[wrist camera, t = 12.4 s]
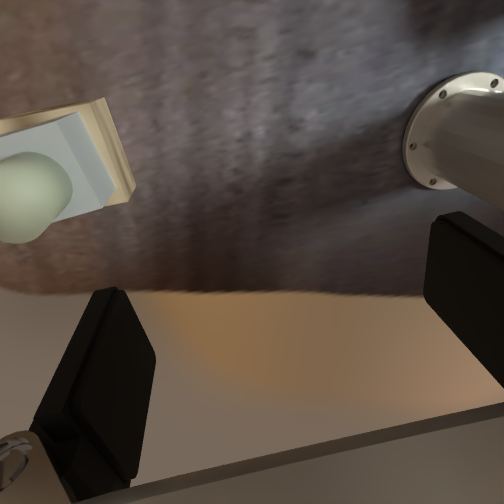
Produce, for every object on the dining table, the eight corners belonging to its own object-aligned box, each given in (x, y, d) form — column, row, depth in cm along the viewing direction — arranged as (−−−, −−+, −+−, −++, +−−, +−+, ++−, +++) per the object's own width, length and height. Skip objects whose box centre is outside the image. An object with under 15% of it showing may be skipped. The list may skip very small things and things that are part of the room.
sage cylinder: (56, 146, 24) (24, 165, 20) (83, 207, 27) (60, 236, 23) (-13, 157, 24) (-59, 179, 20) (21, 218, 27) (-13, 249, 23)
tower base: (105, 96, 32) (89, 103, 28) (136, 184, 37) (127, 201, 32) (12, 114, 32) (-18, 123, 28) (56, 200, 36) (36, 219, 32)
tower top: (78, 111, 28) (55, 120, 24) (116, 187, 32) (102, 208, 27) (0, 134, 28) (-37, 148, 24) (46, 207, 32) (22, 231, 27)
